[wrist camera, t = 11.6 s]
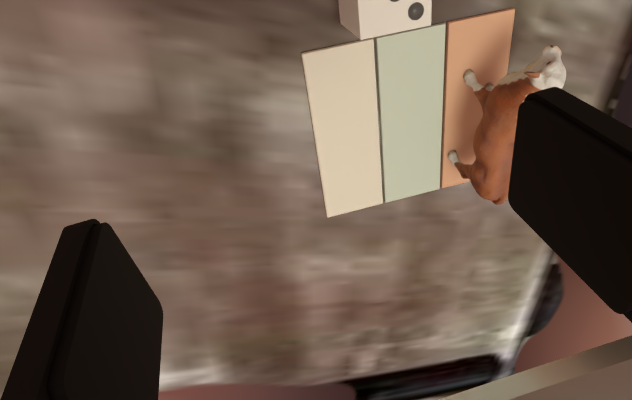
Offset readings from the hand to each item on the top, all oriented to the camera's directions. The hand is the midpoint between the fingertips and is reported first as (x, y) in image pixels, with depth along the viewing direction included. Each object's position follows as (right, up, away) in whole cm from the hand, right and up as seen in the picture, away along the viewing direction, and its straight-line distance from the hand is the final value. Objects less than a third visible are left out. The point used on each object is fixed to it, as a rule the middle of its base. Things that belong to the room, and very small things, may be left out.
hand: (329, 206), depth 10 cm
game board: (+8, +7, +29) cm, 31 cm away
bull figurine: (+14, +9, +29) cm, 34 cm away
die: (+4, +16, +22) cm, 27 cm away
